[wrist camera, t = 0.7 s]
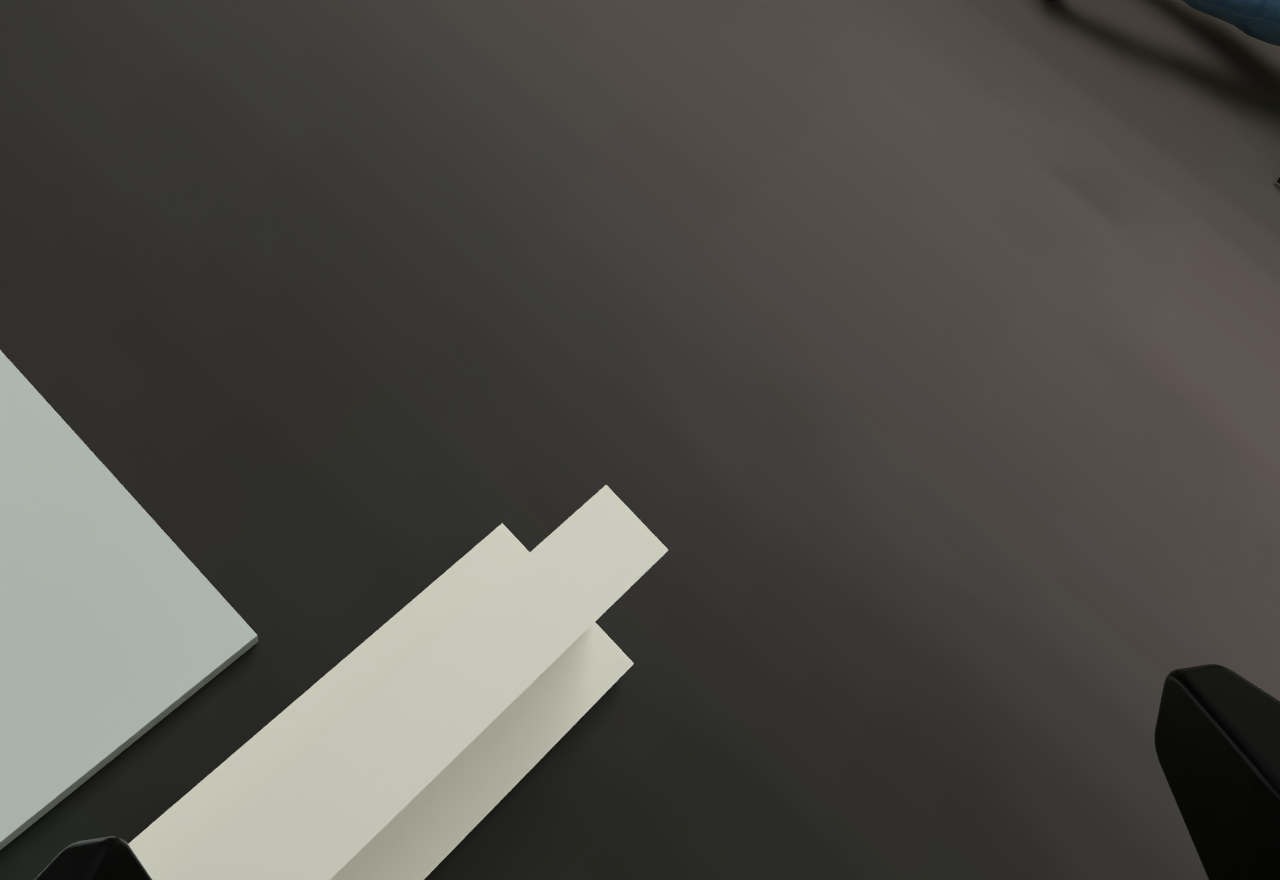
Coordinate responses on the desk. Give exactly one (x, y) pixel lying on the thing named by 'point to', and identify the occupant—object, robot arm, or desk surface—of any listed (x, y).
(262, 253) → the desk surface
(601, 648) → the off-white ledge rack
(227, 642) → the pad
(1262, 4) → the person figurine
